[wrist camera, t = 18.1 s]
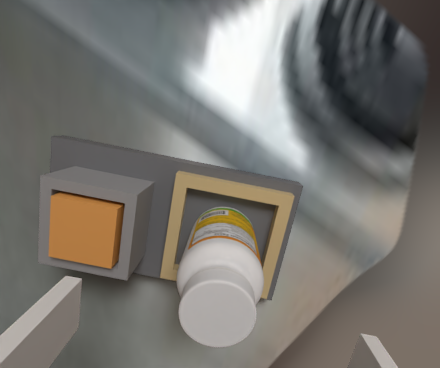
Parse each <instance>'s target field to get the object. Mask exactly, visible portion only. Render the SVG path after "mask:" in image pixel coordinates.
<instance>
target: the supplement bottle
mask: <svg viewBox="0 0 440 368" xmlns="http://www.w3.org/2000/svg"><path fill="white" fill-rule="evenodd" d="M263 287H264V276H263V269H262V265H261V260H260V255H259V251H258V246H257V242H256V237H255V233H254V229H253V226H252V224H251V222H250V221H249V219H248V218H247V217H246V216H245V215H244V214H243V213H241V212H240V211H238V210H236V209H234V208H230V207H215V208H212V209H209V210H207V211H205V212H204V213H203V214H201V215H200V216H199V218H198V219H197V220H196V222H195V224H194V226H193V228H192V231H191V233H190V236H189V239H188V242H187V245H186V248H185V250H184V253H183V256H182V258H181V261H180V264H179V268H178V271H177V289H178V292H179V295H180V297H181V300H180V304H179V311H178V313H179V320H180V324H181V326H182V328H183V329H184V331H185V332H186V333H187V335H188V336H190V337H191V338H192V339H193V340H195V341H196V342H198V343H200V344H202V345H205V346H209V347H218V348H219V347H228V346H232V345H235V344H237V343H239V342H240V341H242V340H243V339H245V338H246V337H247V336H248V335H249V334H250V332H251V331H252V329H253V327H254V325H255V322H256V316H257V312H256V304H257V303H258V301H259V299H260V297H261V295H262V292H263Z"/></svg>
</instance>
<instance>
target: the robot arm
mask: <svg viewBox="0 0 440 368" xmlns="http://www.w3.org/2000/svg"><path fill="white" fill-rule="evenodd" d="M81 287H82V279H81V278H76V277H71V276H65V277H64V278H63V279H62V280H60V281H59V282H58V283H57V284H56V285H55V286H54V287H53V288H52V289H51V290H50V291H48V292H47V293H46V294H45V295H44V296H43V297H42V298H41V299H40V300H39V301H38V302H36V303H35V304H34V305H33V306H32V307H31V308H30V309H29V310H28V311H27V312H26V313H24V314H23V315H22V316H21V317H20V318H19V319H18V320H17V321H16V322H15V323H13V324H12V325H11V326H10V327H9V328H8V329H7V330H6V331H5V332H4V333H3V334H1V335H0V368H49V367H50V365H51V364H52V363H53V361H54V360H55V359H56V357H57V356H58V355H59V353H60V352H61V351H62V349H63V348H64V347H65V345H66V344H67V343H68V341H69V340H70V339H71V337H72V336H73V335H74V333H75V332H76V331H77V329H78V327H79V314H80V300H81ZM348 368H398V367H397V366H396V364H395V363H394V361H393V360H392V358H391V357H390V356H389V354H388V352H387V351H386V350H385V348H384V347H383V345H382V344H381V342H380V341H379V339H378V338H377V337H376V336H370V335H366V334H360V336H359V339H358V341H357V344H356V347H355V349H354V352H353V354H352V357H351V360H350V362H349V365H348Z"/></svg>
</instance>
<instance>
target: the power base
mask: <svg viewBox="0 0 440 368" xmlns="http://www.w3.org/2000/svg"><path fill="white" fill-rule="evenodd" d="M302 188H303V186H302V185H301V184H300V183H299V182H295V181H290V180H285V179H280V178H275V177H270V176H265V175H260V174H255V173H250V172H245V171H240V170H235V169H230V168H225V167H220V166H215V165H209V164H204V163H199V162H194V161H189V160H184V159H179V158H174V157H169V156H164V155H159V154H154V153H149V152H144V151H139V150H134V149H129V148H124V147H119V146H114V145H108V144H103V143H98V142H93V141H88V140H83V139H78V138H73V137H68V136H51V161H50V173H48V174H44V175H41V177H40V211H39V246H38V263H41V264H46V265H51V266H56V267H61V268H66V269H71V270H76V271H81V272H86V273H91V274H96V275H101V276H106V277H111V278H116V279H121V280H126V281H127V280H128V279H129V277H130V276H131V274H132V273H136V274H141V275H146V276H151V277H156V278H161V279H166V280H171V281H176V282H177V271H178V268H179V264H180V261H181V258H182V256H183V253H184V250H185V248H186V245H187V242H188V239H189V236H190V233H191V231H192V228H193V226H194V224H195V222H196V220H197V219H198V218H199V216H200V215H201V214H203V213H204V212H205V211H207V210H209V209H212V208H215V207H230V208H234V209H236V210H238V211H240V212H241V213H243V214H244V215H245V216H246V217H247V218H248V219H249V221H250V222H251V224H252V226H253V229H254V233H255V237H256V242H257V246H258V251H259V255H260V260H261V265H262V269H263V276H264V287H263V292H262V295H261V297H260V298H262V299H267V300H272V297H273V293H274V289H275V286H276V282H277V279H278V275H279V271H280V268H281V264H282V260H283V257H284V253H285V250H286V246H287V242H288V239H289V235H290V232H291V228H292V224H293V221H294V217H295V213H296V210H297V206H298V203H299V199H300V195H301V192H302ZM62 191H65V192H70V193H75V194H80V195H85V196H90V197H95V198H100V199H105V200H110V201H116V202H121V203H125V208H124V217H123V226H122V235H121V244H120V253H119V260H118V261H117V263H116V264H115V265H114V266H113V267H112V268H111V269H110V268H104V267H99V266H94V265H89V264H84V263H79V262H74V261H69V260H64V259H59V258H54V257H49V230H50V205H51V196H52V195H55V194H57V193H60V192H62Z"/></svg>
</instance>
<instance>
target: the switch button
mask: <svg viewBox="0 0 440 368" xmlns="http://www.w3.org/2000/svg"><path fill="white" fill-rule="evenodd" d="M124 208H125V203H121V202H116V201H110V200H105V199H100V198H95V197H90V196H85V195H80V194H75V193H70V192H65V191H62V192H60V193H57V194H55V195H52V196H51V205H50V230H49V257H54V258H59V259H64V260H69V261H74V262H79V263H84V264H89V265H94V266H99V267H104V268H110V269H111V268H112V267H113V266H114V265H115V264H116V263H117V261H118V260H119V253H120V244H121V235H122V226H123V217H124Z"/></svg>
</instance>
